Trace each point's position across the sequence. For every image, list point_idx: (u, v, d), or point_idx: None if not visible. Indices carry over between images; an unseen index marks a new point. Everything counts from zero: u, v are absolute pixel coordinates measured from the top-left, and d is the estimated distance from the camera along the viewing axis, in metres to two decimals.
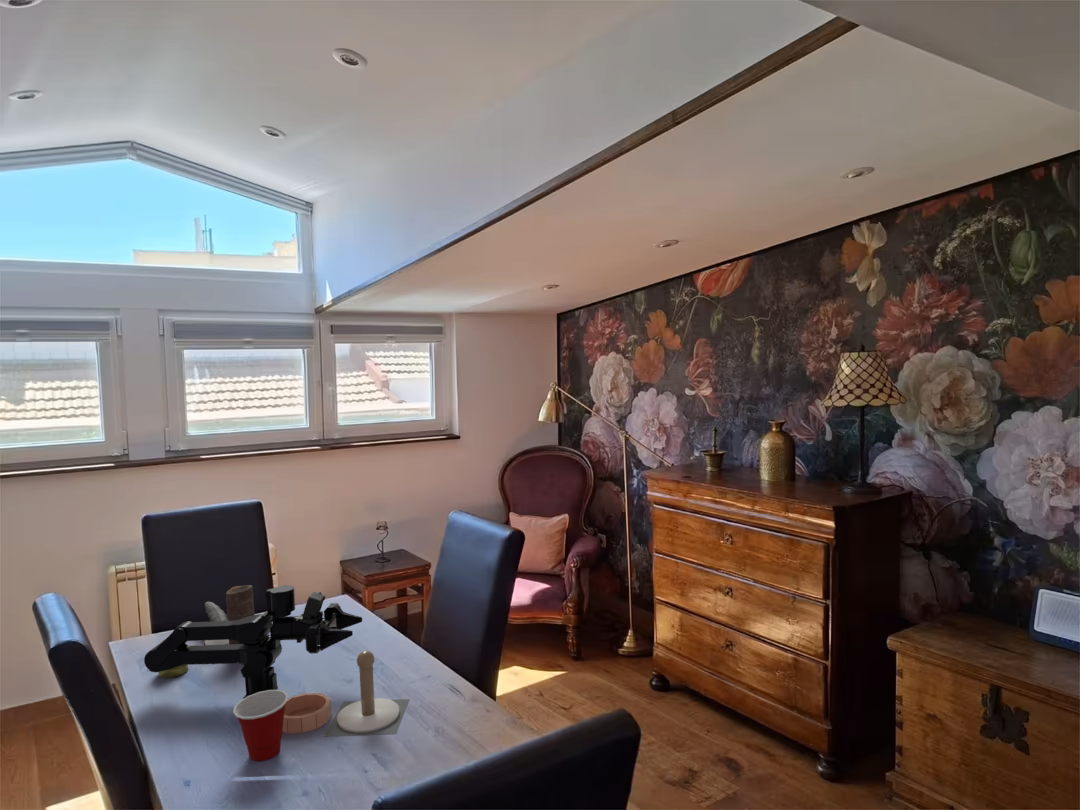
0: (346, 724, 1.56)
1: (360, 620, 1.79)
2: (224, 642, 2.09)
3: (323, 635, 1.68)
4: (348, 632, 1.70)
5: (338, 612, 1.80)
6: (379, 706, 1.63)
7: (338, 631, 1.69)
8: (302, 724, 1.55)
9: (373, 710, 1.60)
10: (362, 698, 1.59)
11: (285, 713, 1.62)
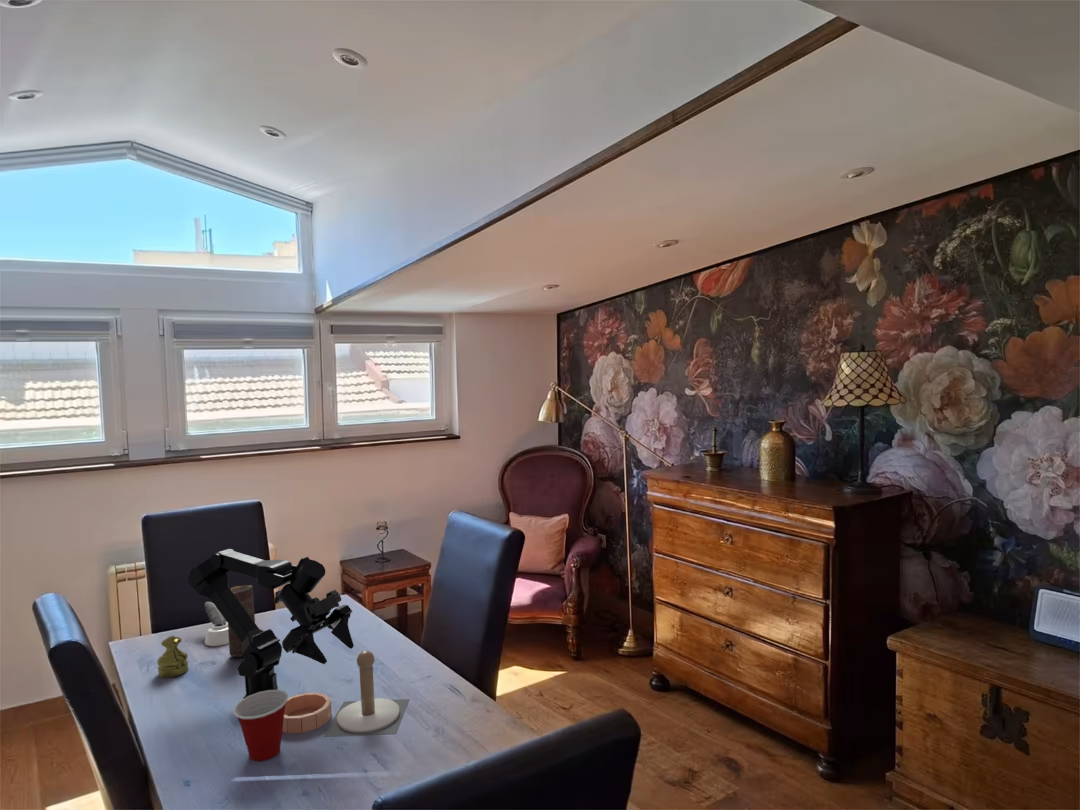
0: (346, 724, 1.56)
1: (350, 647, 1.68)
2: (224, 642, 2.09)
3: (303, 643, 1.59)
4: (323, 659, 1.59)
5: (342, 622, 1.69)
6: (379, 706, 1.63)
7: (316, 651, 1.59)
8: (302, 724, 1.55)
9: (373, 710, 1.60)
10: (362, 698, 1.59)
11: (285, 713, 1.62)
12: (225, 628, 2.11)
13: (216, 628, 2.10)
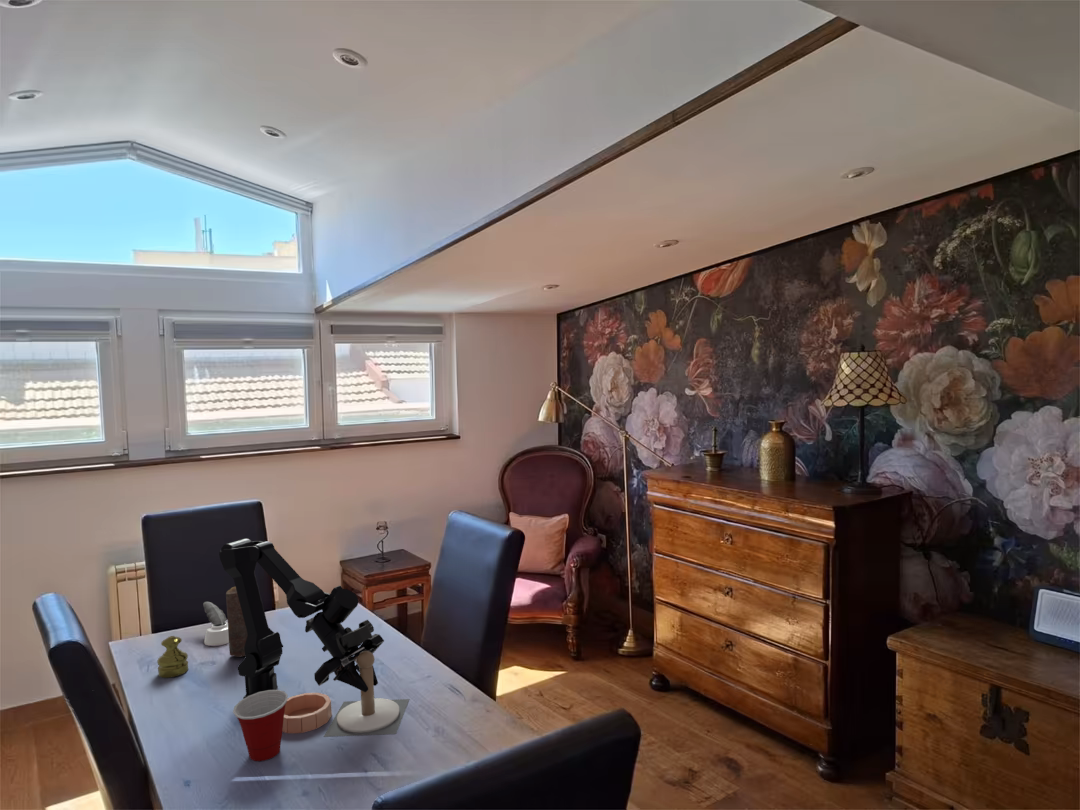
0: (346, 724, 1.56)
1: (374, 684, 1.61)
2: (224, 642, 2.09)
3: (345, 670, 1.58)
4: (364, 687, 1.58)
5: None
6: (379, 706, 1.63)
7: (358, 679, 1.58)
8: (302, 724, 1.55)
9: (373, 710, 1.60)
10: (362, 698, 1.59)
11: (285, 713, 1.62)
12: (224, 628, 2.11)
13: (215, 628, 2.10)
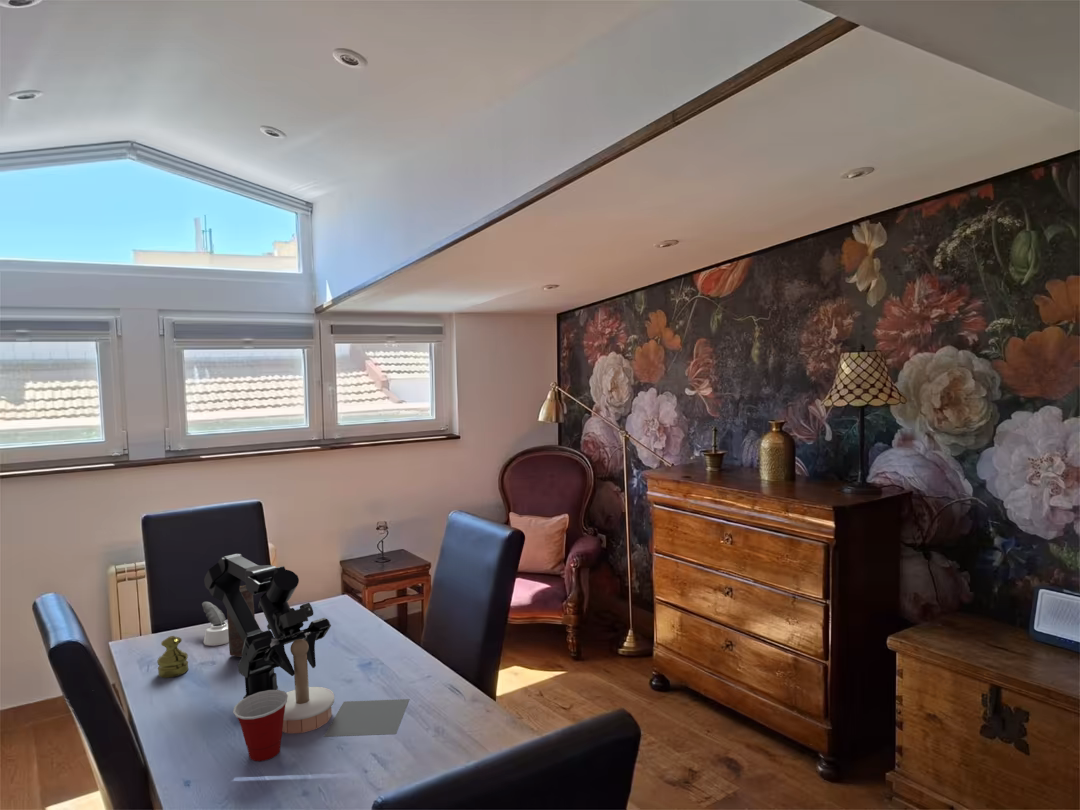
0: None
1: (312, 666, 1.61)
2: (223, 641, 2.10)
3: (274, 652, 1.58)
4: (290, 671, 1.57)
5: (308, 639, 1.63)
6: (317, 696, 1.63)
7: (285, 662, 1.57)
8: (302, 724, 1.55)
9: (305, 699, 1.59)
10: (295, 685, 1.59)
11: None
12: (224, 628, 2.11)
13: (215, 628, 2.11)
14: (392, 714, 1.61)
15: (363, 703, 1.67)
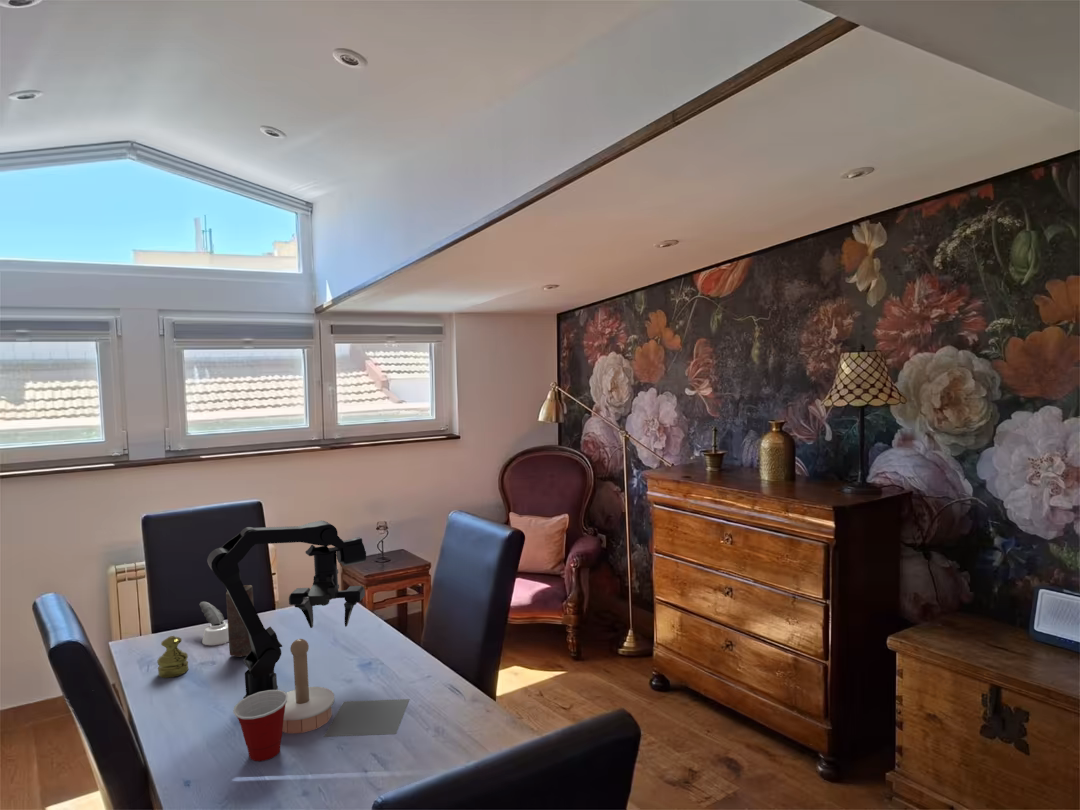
0: None
1: None
2: (222, 641, 2.10)
3: None
4: None
5: None
6: (317, 696, 1.63)
7: (306, 617, 1.84)
8: (302, 724, 1.55)
9: (305, 699, 1.59)
10: (295, 685, 1.59)
11: None
12: (223, 627, 2.12)
13: (214, 627, 2.11)
14: (392, 714, 1.61)
15: (363, 703, 1.67)
